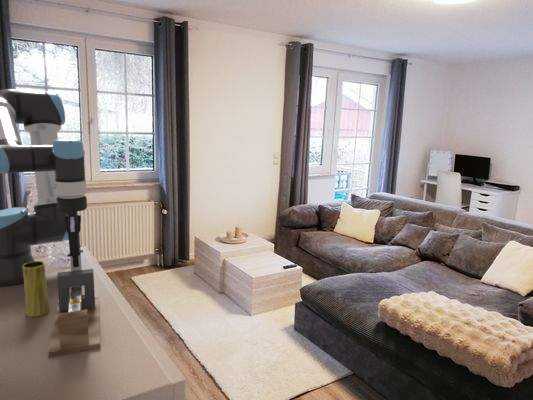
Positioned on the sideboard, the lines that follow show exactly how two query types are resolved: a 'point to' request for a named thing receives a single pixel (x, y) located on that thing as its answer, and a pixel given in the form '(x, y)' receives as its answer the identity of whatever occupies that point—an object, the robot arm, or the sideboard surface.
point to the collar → (74, 280)
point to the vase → (35, 289)
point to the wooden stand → (75, 330)
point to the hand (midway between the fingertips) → (76, 276)
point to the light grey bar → (75, 299)
